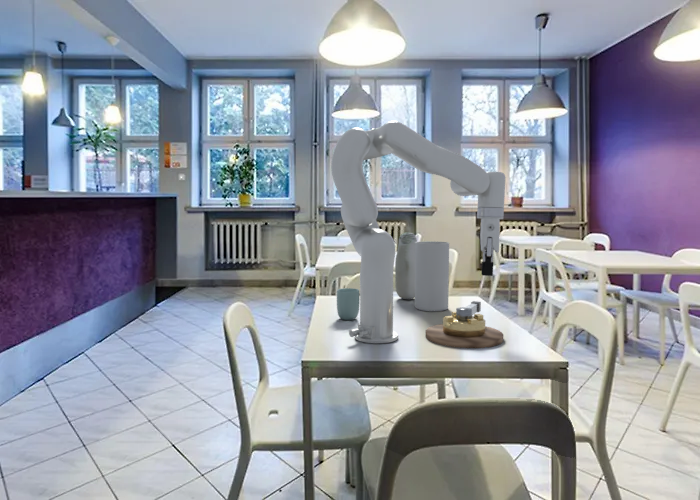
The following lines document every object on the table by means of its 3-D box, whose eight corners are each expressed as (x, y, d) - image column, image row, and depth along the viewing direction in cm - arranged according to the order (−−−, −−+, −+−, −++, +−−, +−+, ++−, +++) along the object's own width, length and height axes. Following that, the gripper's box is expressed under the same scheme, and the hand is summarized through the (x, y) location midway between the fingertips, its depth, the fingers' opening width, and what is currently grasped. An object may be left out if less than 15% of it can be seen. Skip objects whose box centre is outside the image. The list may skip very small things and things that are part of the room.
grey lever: (479, 338, 129) (479, 315, 128) (437, 333, 135) (437, 310, 134) (495, 323, 146) (496, 302, 145) (457, 319, 152) (458, 299, 151)
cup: (339, 316, 166) (339, 287, 165) (361, 316, 164) (361, 288, 163) (334, 321, 158) (334, 291, 157) (357, 322, 156) (357, 292, 156)
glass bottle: (393, 297, 201) (393, 231, 199) (417, 296, 202) (417, 231, 200) (397, 301, 192) (397, 232, 189) (421, 301, 192) (422, 232, 190)
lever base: (479, 353, 122) (479, 347, 121) (410, 337, 137) (410, 332, 137) (516, 336, 137) (516, 331, 137) (451, 324, 153) (451, 319, 152)
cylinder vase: (451, 312, 172) (452, 243, 169) (416, 311, 172) (417, 243, 170) (444, 305, 184) (445, 241, 182) (412, 305, 184) (413, 241, 182)
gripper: (505, 214, 131) (502, 279, 133) (501, 214, 146) (498, 273, 147) (477, 213, 133) (474, 277, 135) (476, 213, 148) (473, 271, 149)
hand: (487, 275), depth 141 cm, fingers closed
